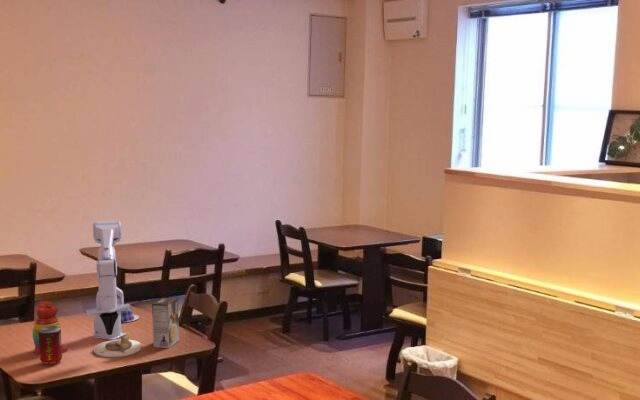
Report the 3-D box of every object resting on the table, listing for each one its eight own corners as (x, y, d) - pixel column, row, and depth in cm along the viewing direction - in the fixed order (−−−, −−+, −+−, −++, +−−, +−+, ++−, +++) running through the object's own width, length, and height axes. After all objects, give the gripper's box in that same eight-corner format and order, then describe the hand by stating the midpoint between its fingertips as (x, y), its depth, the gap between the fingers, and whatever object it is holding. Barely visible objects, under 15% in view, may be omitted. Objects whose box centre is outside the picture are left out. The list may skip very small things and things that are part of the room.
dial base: (84, 353, 266) (84, 350, 266) (113, 340, 281) (113, 337, 281) (122, 359, 260) (122, 355, 260) (150, 345, 275) (150, 342, 275)
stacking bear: (69, 351, 269) (67, 301, 267) (41, 357, 262) (39, 307, 260) (55, 344, 277) (53, 296, 275) (28, 350, 270) (25, 301, 268)
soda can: (60, 358, 262) (58, 323, 260) (64, 364, 255) (62, 329, 254) (38, 361, 258) (36, 326, 257) (41, 368, 252) (39, 332, 250)
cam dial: (102, 345, 271) (101, 331, 270) (126, 340, 276) (126, 327, 275) (113, 355, 260) (113, 340, 260) (139, 350, 265) (138, 336, 264)
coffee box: (163, 339, 282) (161, 297, 280) (179, 340, 281) (178, 297, 279) (152, 347, 273) (151, 303, 271) (169, 348, 272) (168, 304, 270)
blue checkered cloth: (125, 314, 317) (125, 301, 317) (145, 318, 311) (145, 306, 310) (102, 320, 308) (101, 308, 307) (122, 325, 301) (121, 312, 300)
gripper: (90, 300, 251) (91, 340, 253) (132, 294, 259) (134, 333, 261) (83, 296, 257) (85, 335, 258) (125, 290, 265) (127, 328, 266)
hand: (109, 334), depth 260 cm, fingers closed
